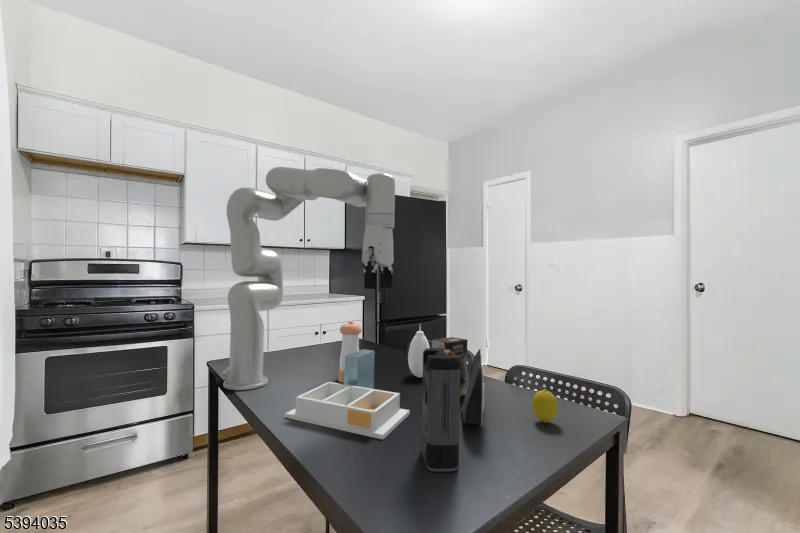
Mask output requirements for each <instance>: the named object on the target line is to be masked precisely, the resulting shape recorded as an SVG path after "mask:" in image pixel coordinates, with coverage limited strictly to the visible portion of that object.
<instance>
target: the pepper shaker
mask: <svg viewBox="0 0 800 533" xmlns="http://www.w3.org/2000/svg"><path fill="white" fill-rule="evenodd" d="M339 332H340V334H342V335H341V349H340V356H339V369H338V372H337V373H338V378H337V379H338V380H337V381H338V382H339V383H341V382H342V383H341V384H344V380H345V356H346V355H349V354H352V353H354V352H357V351H360V346H359V345H360V341H359V340H360V334H361V333H362V326H361V325H360V324H358V323H354V321H352V320H349V321H348V322H347V323H343V324H342V325H340V328H339Z"/></svg>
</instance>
